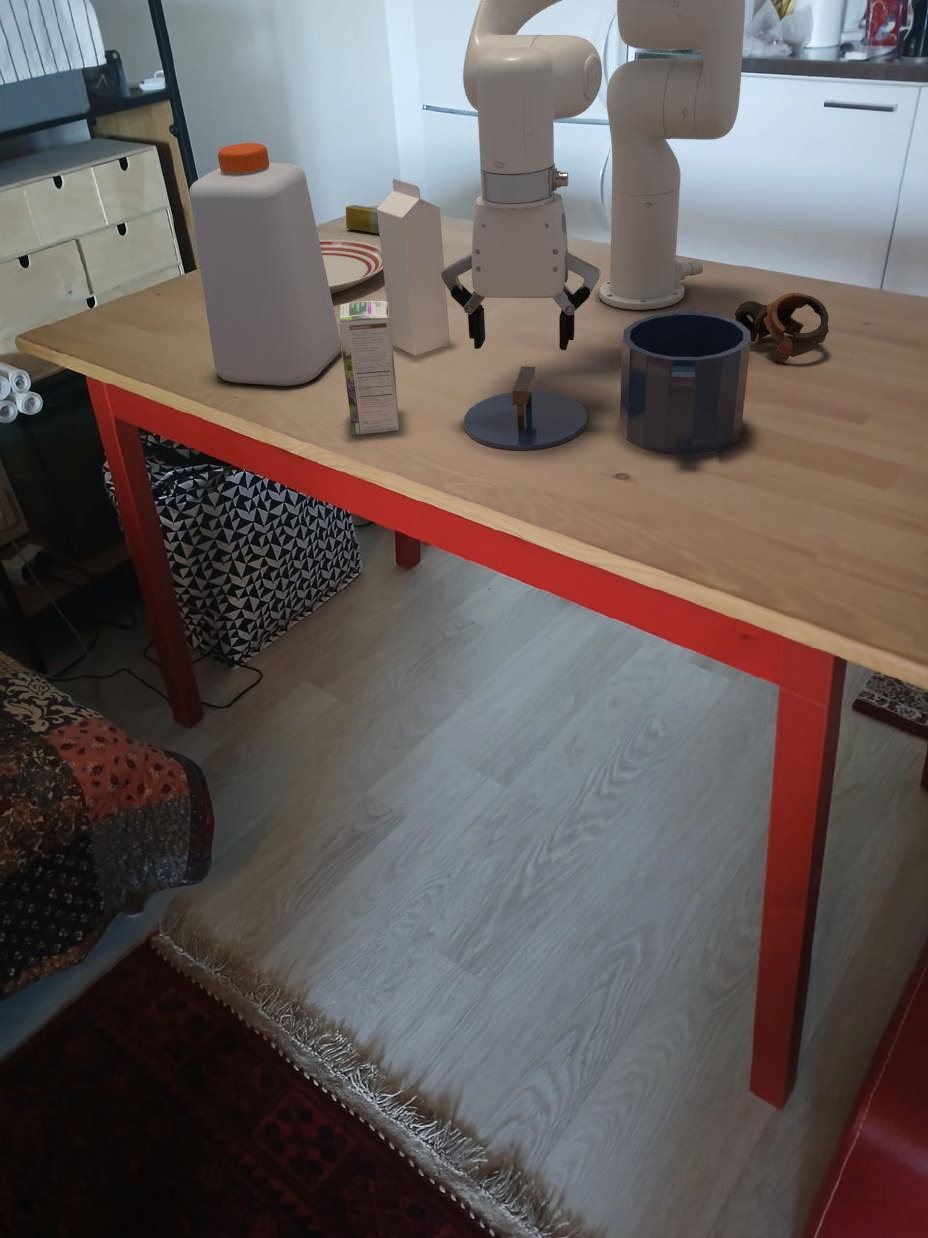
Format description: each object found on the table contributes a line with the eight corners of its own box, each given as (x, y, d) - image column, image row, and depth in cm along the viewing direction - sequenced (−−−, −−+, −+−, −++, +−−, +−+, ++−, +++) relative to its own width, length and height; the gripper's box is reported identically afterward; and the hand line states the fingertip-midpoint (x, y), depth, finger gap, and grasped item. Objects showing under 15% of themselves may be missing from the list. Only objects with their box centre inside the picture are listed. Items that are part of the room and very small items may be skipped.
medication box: (405, 234, 187) (405, 211, 185) (396, 237, 185) (396, 213, 183) (354, 226, 193) (353, 203, 191) (345, 228, 191) (344, 205, 189)
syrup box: (352, 418, 127) (336, 302, 118) (400, 413, 127) (387, 297, 118) (352, 439, 122) (335, 320, 113) (402, 434, 122) (389, 315, 113)
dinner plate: (304, 246, 185) (301, 227, 183) (424, 267, 171) (422, 247, 169) (190, 295, 168) (186, 274, 166) (313, 322, 154) (310, 300, 152)
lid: (592, 401, 126) (593, 354, 122) (580, 457, 115) (580, 407, 111) (476, 398, 129) (473, 352, 125) (453, 452, 117) (449, 404, 114)
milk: (415, 359, 140) (398, 191, 127) (391, 347, 144) (372, 183, 131) (451, 347, 143) (438, 180, 129) (426, 335, 147) (411, 173, 133)
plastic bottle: (308, 391, 134) (270, 163, 117) (206, 384, 138) (155, 162, 121) (351, 346, 145) (322, 133, 128) (255, 341, 149) (215, 133, 133)
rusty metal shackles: (819, 337, 138) (842, 296, 130) (804, 392, 135) (826, 352, 127) (733, 311, 139) (750, 269, 132) (716, 364, 136) (732, 324, 128)
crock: (739, 396, 124) (748, 303, 117) (741, 472, 110) (752, 371, 103) (626, 394, 127) (628, 303, 120) (613, 468, 112) (616, 369, 105)
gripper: (605, 174, 107) (601, 334, 117) (443, 177, 110) (453, 331, 120) (598, 193, 101) (595, 359, 111) (427, 195, 104) (440, 356, 114)
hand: (521, 345), depth 115 cm, fingers open, 9 cm apart
